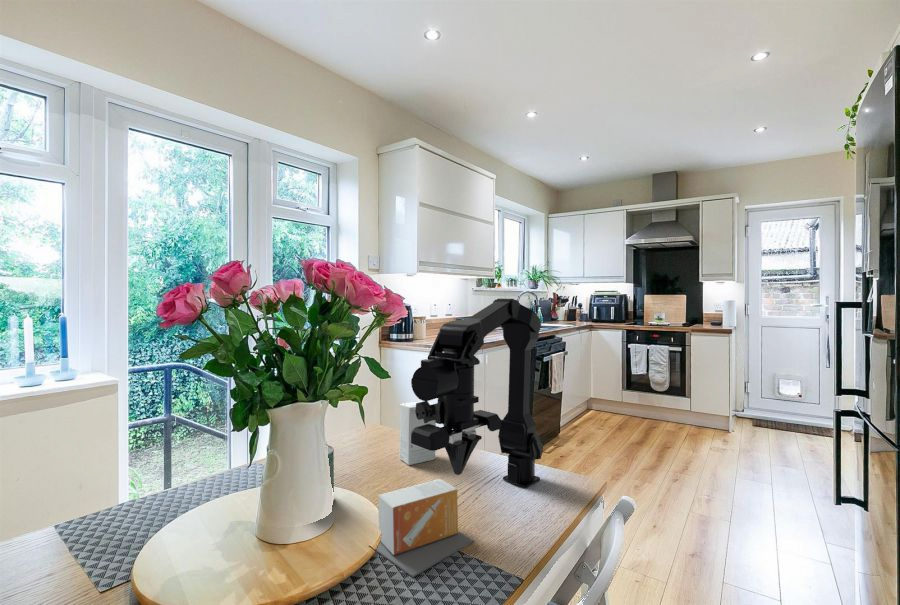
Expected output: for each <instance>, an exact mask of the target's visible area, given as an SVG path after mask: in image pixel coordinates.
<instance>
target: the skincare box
mask: <svg viewBox="0 0 900 605" xmlns="http://www.w3.org/2000/svg"><path fill="white" fill-rule="evenodd" d="M419 402H424V401H422V400H420V401H411V402H403V403H400V404H399V441H398V442H399V446H398V447H399V448H398V449H399V450H398V451H399V452H398V455H399V456H398V459H399V460H401V461H402V462H403V463H404V464H406V465H407V466H412V465H417V464H420V463H424V462H430V461H434V459H436V451H430V450H427V449H425V448H422V447H419V446H417V445H414V444H412V443H411V431H412V430H413V429H414V428H415V427H419V426H422V425H426V424H431V425H434V426H437V425H436V424H437V423H435V420H433V421H429V422H428V423H424V421H423V419H421V420H418V419H417V417H416V413H415V410H416V403H419ZM428 403H429V404H430V405H432V404H434V403H433V402H430V401H428Z"/></svg>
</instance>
